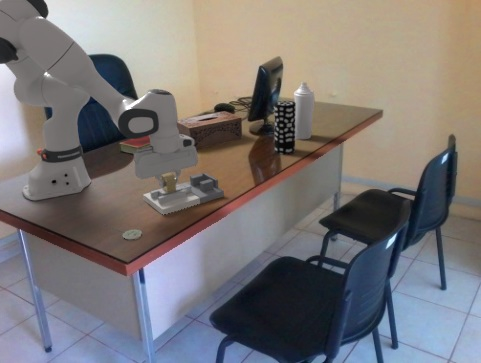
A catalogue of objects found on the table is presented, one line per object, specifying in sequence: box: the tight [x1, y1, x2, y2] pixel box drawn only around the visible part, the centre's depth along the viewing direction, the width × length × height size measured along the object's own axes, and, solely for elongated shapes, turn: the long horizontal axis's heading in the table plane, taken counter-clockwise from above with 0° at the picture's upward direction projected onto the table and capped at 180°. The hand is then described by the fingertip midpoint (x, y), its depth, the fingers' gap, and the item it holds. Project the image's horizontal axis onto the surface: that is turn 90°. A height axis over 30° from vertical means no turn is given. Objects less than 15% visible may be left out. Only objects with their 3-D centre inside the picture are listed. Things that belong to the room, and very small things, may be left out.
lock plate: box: [142, 172, 225, 216], centre depth 151 cm, size 22×14×5 cm, turn 126°
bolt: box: [158, 172, 192, 197], centre depth 148 cm, size 10×4×7 cm, turn 125°
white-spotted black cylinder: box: [274, 100, 296, 156], centre depth 187 cm, size 8×8×20 cm
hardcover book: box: [118, 135, 151, 155], centre depth 202 cm, size 12×21×4 cm, turn 145°
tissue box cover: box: [177, 110, 243, 150], centre depth 206 cm, size 26×14×10 cm, turn 123°
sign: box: [102, 223, 143, 240], centre depth 132 cm, size 5×1×15 cm
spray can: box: [293, 81, 316, 140], centre depth 203 cm, size 12×11×25 cm
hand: (169, 184), depth 147 cm, fingers closed on bolt, 3 cm apart
